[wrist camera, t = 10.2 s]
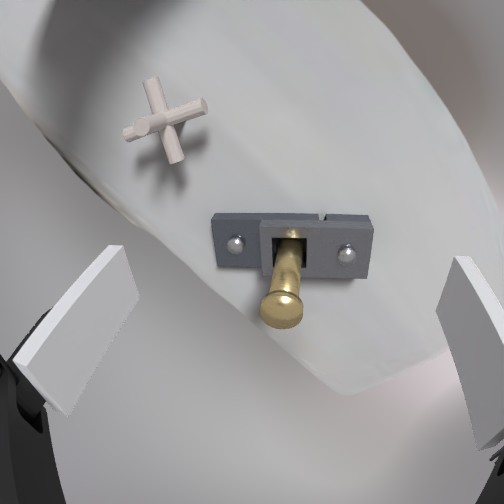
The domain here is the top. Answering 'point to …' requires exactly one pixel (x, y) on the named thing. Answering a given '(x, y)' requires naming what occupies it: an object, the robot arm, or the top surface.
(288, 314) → the pin
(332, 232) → the square socket block
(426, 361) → the top surface
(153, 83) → the white crossed rod jack
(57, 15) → the top surface
